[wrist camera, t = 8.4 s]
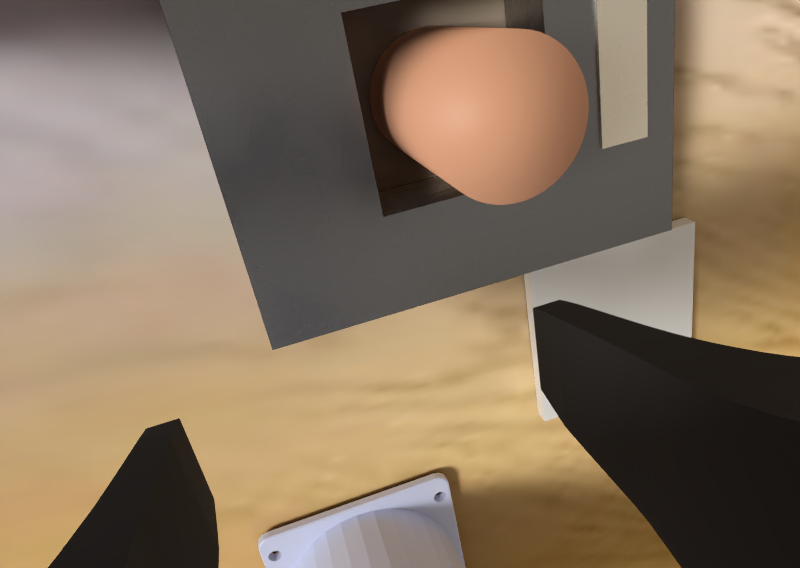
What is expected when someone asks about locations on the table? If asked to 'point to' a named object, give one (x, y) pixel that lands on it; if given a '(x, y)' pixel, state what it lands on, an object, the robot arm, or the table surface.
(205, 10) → the hole plate
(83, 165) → the table surface
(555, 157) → the peg
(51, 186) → the table surface
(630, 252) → the tile
